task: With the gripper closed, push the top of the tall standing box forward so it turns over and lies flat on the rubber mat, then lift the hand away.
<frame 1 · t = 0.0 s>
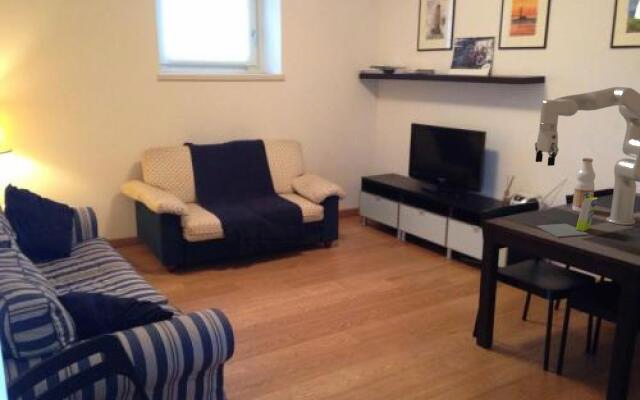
hand: (544, 163, 257), 31 cm above the table, tool pointing down, fingers open, 9 cm apart
mat: (561, 230, 259), on the table
fruit juice: (581, 210, 294), on the table
box: (582, 229, 260), on the table
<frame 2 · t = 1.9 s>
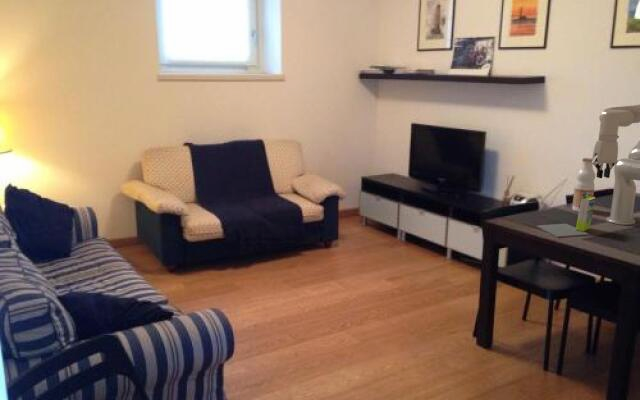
hand: (602, 177, 255), 25 cm above the table, tool pointing down, fingers open, 3 cm apart
box: (582, 229, 260), on the table, touching mat
everything else where it was.
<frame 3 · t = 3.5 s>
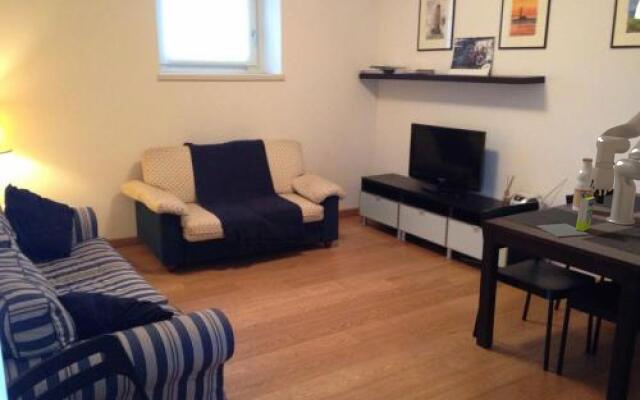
hand: (599, 203, 258), 13 cm above the table, tool pointing down, fingers closed
nothing on the table moved.
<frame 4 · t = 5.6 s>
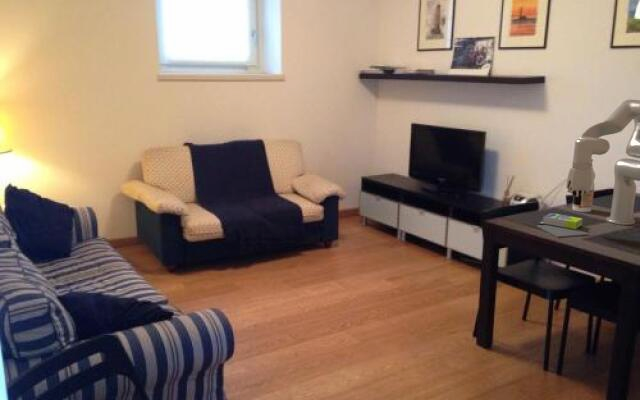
hand: (576, 204, 256), 13 cm above the table, tool pointing down, fingers closed
box: (579, 224, 261), point 2 cm above the table, touching mat
everything else where it was.
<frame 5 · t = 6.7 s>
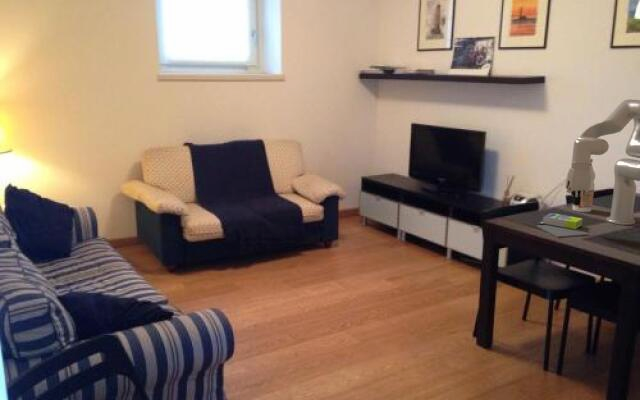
hand: (576, 204, 256), 13 cm above the table, tool pointing down, fingers closed
nothing on the table moved.
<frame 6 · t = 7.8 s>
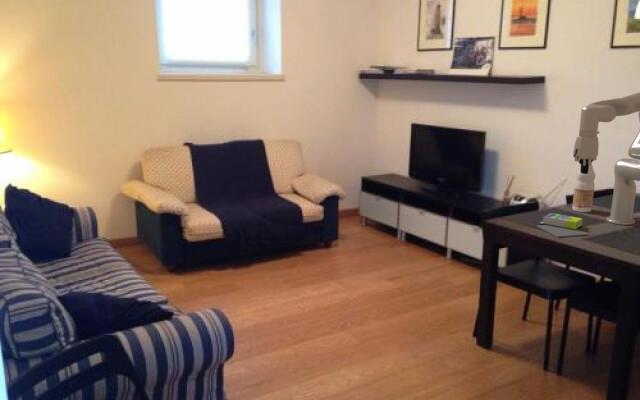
hand: (584, 173, 254), 27 cm above the table, tool pointing down, fingers closed
nothing on the table moved.
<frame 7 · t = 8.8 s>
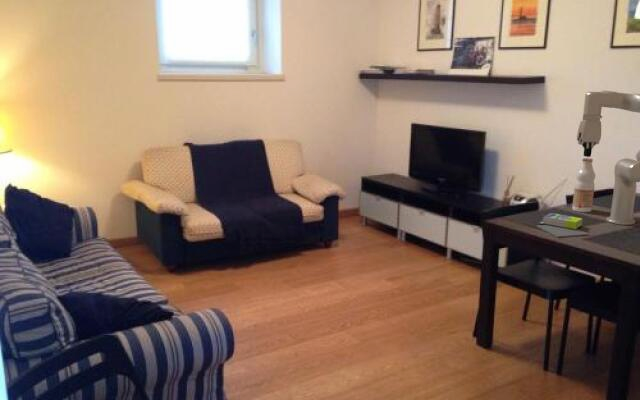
hand: (587, 156, 265), 33 cm above the table, tool pointing down, fingers closed
nothing on the table moved.
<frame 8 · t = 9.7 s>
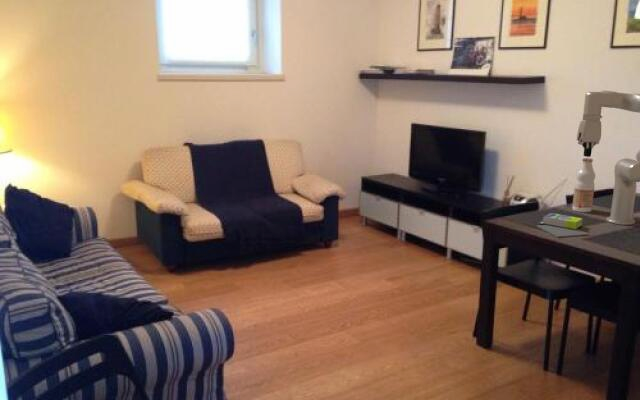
hand: (587, 156, 265), 33 cm above the table, tool pointing down, fingers closed
nothing on the table moved.
at the end: box tilted 90°; box touching mat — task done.
